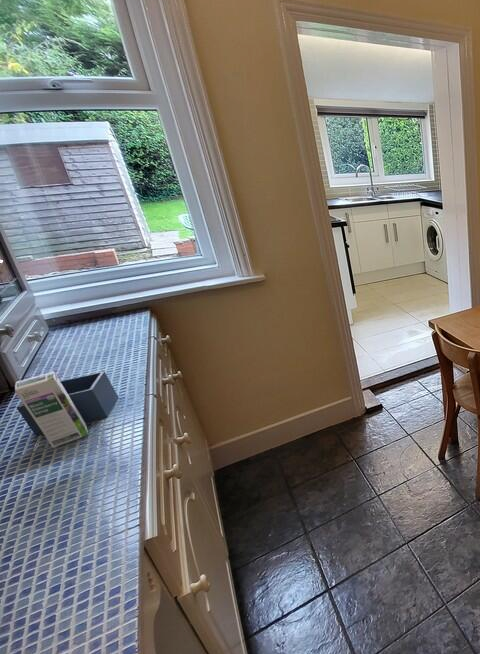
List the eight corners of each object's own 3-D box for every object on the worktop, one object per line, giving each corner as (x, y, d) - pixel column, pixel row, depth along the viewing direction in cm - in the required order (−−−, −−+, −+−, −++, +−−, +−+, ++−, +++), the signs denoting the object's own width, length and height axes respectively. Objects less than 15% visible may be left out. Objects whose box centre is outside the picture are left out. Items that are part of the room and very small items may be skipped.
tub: (35, 436, 90) (16, 407, 87) (53, 413, 98) (35, 386, 95) (107, 417, 95) (91, 389, 92) (118, 397, 103) (104, 371, 100)
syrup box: (52, 449, 85) (13, 390, 79) (51, 437, 89) (14, 380, 83) (89, 435, 89) (54, 378, 83) (87, 425, 93) (53, 369, 87)
